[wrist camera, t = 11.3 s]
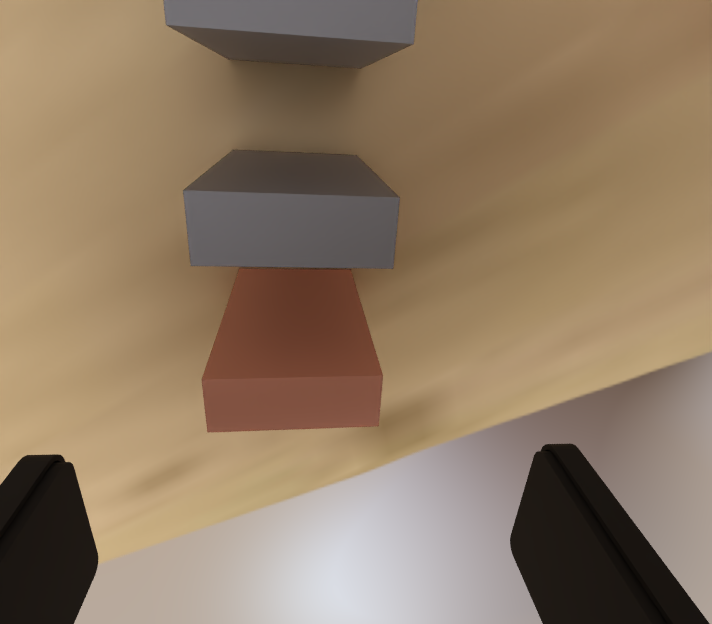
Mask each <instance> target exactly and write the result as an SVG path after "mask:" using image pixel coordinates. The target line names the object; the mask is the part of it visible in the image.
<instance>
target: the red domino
mask: <svg viewBox="0 0 712 624" xmlns="http://www.w3.org/2000/svg"><path fill="white" fill-rule="evenodd" d="M382 380H383V374H382V371H381V368H380V364H379V361H378V358H377V355H376V351H375V348H374V345H373V341H372V338H371V335H370V332H369V328H368V325H367V322H366V319H365V315H364V312H363V309H362V305H361V302H360V299H359V296H358V292H357V289H356V286H355V282H354V279H353V276H352V273H351V269H241V268H240V269H239V272H238V275H237V278H236V280H235V283H234V286H233V289H232V292H231V295H230V298H229V301H228V304H227V307H226V310H225V313H224V316H223V319H222V322H221V324H220V327H219V330H218V333H217V336H216V339H215V342H214V345H213V348H212V351H211V354H210V357H209V360H208V363H207V366H206V369H205V371H204V374H203V377H202V386H203V396H204V405H205V414H206V423H207V432H232V431H260V430H287V429H315V428H343V427H371V426H379V416H380V404H381V392H382Z"/></svg>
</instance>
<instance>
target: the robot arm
mask: <svg viewBox="0 0 712 624" xmlns="http://www.w3.org/2000/svg"><path fill="white" fill-rule="evenodd" d="M510 544H511V550H512V554H513V556H514V559H515V561H516V563H517V566H518V568H519V570H520V573H521V575H522V577H523V579H524V582H525V584H526V586H527V589H528V591H529V593H530V595H531V598H532V600H533V602H534V605H535V607H536V609H537V611H538V614H539V616H540V618H541V621H542V623H543V624H709V622H708V621H707V620H706V618H705V617H704V616H703V614H702V613H701V612H700V610H699V609H698V608H697V606H696V605H695V604H694V602H693V601H692V600H691V598H690V597H689V596H688V594H687V593H686V592H685V590H684V589H683V588H682V586H681V585H680V584H679V582H678V581H677V580H676V578H675V577H674V576H673V574H672V573H671V572H670V570H669V569H668V568H667V566H666V565H665V564H664V562H663V561H662V560H661V558H660V557H659V556H658V554H657V553H656V552H655V550H654V549H653V548H652V546H651V545H650V544H649V542H648V541H647V540H646V538H645V537H644V536H643V534H642V533H641V531H640V530H639V529H638V527H637V526H636V525H635V524H634V522H633V521H632V519H631V518H630V517H629V515H628V514H627V513H626V511H625V510H624V509H623V508H622V506H621V505H620V503H619V502H618V501H617V499H616V498H615V497H614V496H613V494H612V493H611V491H610V490H609V489H608V487H607V486H606V485H605V483H604V482H603V481H602V479H601V478H600V477H599V475H598V474H597V473H596V471H595V470H594V469H593V467H592V466H591V465H590V463H589V462H588V461H587V459H586V458H585V457H584V455H583V454H582V453H581V452H580V450H579V449H578V448H577V447H576V446H575V445H573V444H547V445H545V446H543V447H542V449H541V451H540V452H536V454H535V455H534V458H533V461H532V465H531V468H530V472H529V475H528V479H527V482H526V485H525V489H524V492H523V496H522V499H521V502H520V506H519V509H518V513H517V516H516V519H515V523H514V526H513V530H512V533H511V538H510ZM97 566H98V553H97V549H96V545H95V542H94V538H93V535H92V531H91V527H90V524H89V520H88V517H87V513H86V509H85V506H84V502H83V498H82V495H81V491H80V488H79V484H78V480H77V477H76V473H75V470H74V467H73V464H72V463H71V462H65V460H64V458H63V457H62V456H61V455H27V456H25V457H23V458H22V459H21V460H20V461H19V462H18V463H17V464H16V466H15V467H14V468H13V469H12V471H11V472H10V473H9V475H8V476H7V477H6V478H5V480H4V481H3V482H2V484H1V485H0V624H74V622H75V620H76V617H77V615H78V613H79V610H80V608H81V606H82V603H83V601H84V599H85V597H86V594H87V592H88V589H89V588H90V585H91V583H92V581H93V579H94V576H95V573H96V570H97Z"/></svg>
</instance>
